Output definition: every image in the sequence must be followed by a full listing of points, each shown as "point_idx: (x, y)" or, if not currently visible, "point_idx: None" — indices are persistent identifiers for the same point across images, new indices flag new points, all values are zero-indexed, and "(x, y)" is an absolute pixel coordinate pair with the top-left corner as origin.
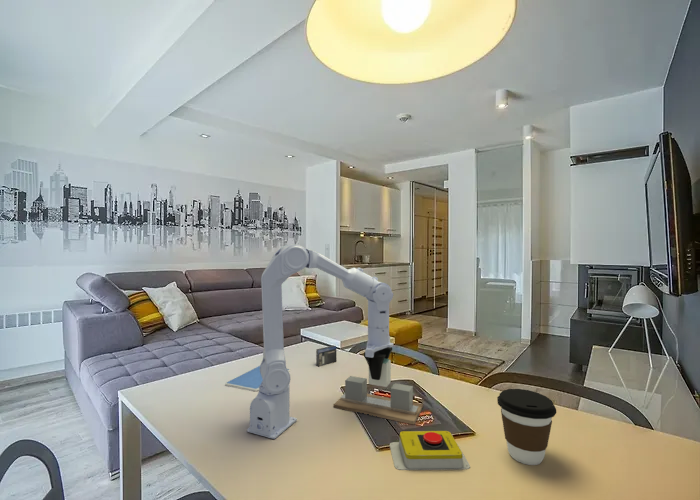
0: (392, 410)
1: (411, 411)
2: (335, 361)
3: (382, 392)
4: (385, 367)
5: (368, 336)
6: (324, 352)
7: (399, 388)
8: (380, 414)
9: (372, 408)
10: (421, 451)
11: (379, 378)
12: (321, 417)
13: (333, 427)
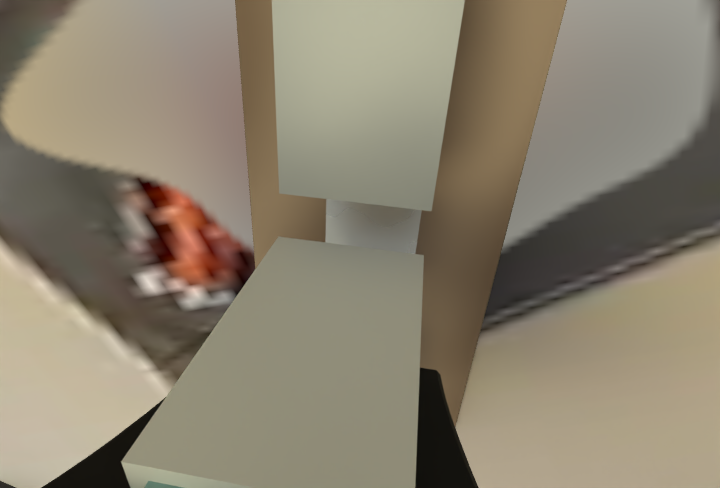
0: None
1: None
2: (1, 485)
3: (167, 242)
4: (414, 461)
5: None
6: None
7: (408, 111)
8: (513, 198)
9: (442, 260)
10: None
11: (437, 380)
12: (567, 447)
13: (670, 391)
